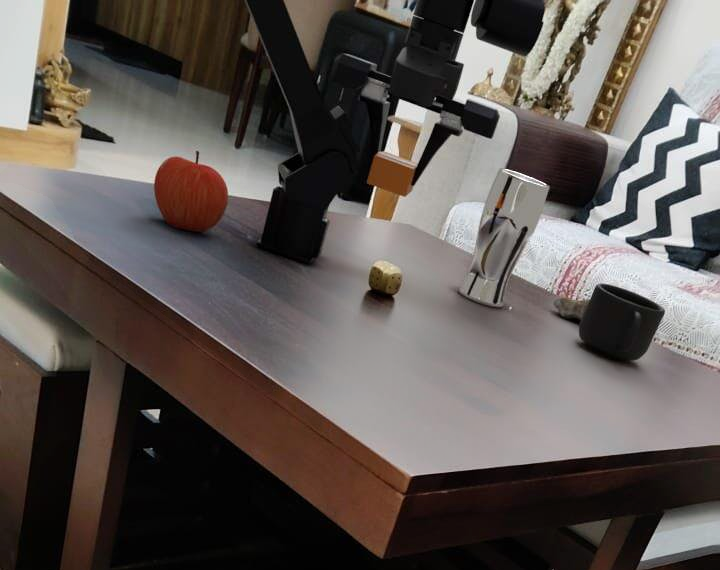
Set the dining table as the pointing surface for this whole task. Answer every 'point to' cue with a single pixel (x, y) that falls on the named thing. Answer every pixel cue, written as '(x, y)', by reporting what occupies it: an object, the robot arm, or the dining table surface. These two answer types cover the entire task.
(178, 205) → the apple
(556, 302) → the rock
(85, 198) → the dining table surface
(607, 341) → the mug
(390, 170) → the small cardboard box
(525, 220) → the silver metal vase
